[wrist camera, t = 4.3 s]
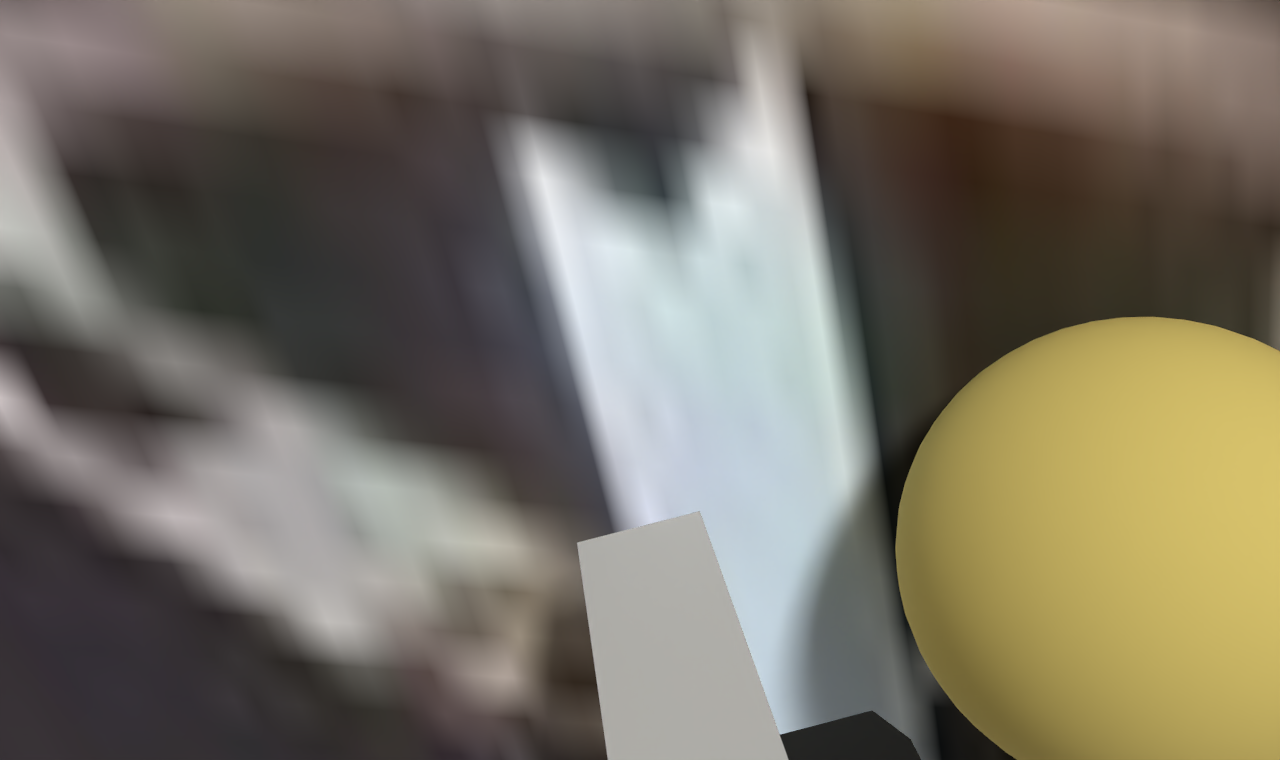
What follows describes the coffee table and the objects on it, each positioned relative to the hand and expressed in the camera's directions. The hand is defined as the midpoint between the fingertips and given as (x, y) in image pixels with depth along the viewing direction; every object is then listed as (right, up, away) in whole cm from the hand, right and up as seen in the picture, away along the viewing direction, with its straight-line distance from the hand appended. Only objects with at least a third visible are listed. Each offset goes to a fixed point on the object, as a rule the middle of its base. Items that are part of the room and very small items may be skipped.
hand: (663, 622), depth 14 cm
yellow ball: (+5, +1, -1) cm, 6 cm away
